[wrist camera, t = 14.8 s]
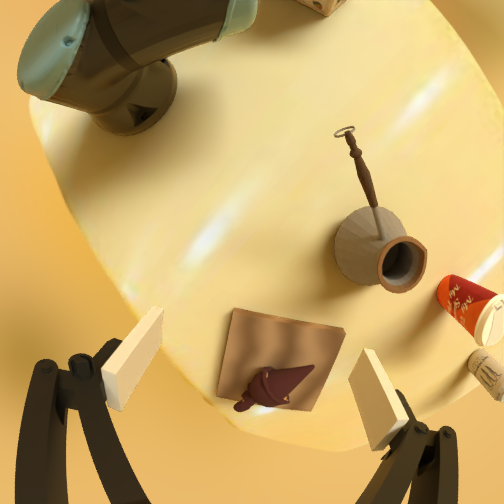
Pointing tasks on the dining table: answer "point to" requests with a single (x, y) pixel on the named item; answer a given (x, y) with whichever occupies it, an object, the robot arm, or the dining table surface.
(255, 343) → the serving board
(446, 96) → the dining table surface
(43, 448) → the robot arm
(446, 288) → the coffee cup
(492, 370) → the energy drink can
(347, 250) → the coffee pot
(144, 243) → the dining table surface
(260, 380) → the icecream
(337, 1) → the decorative jar
